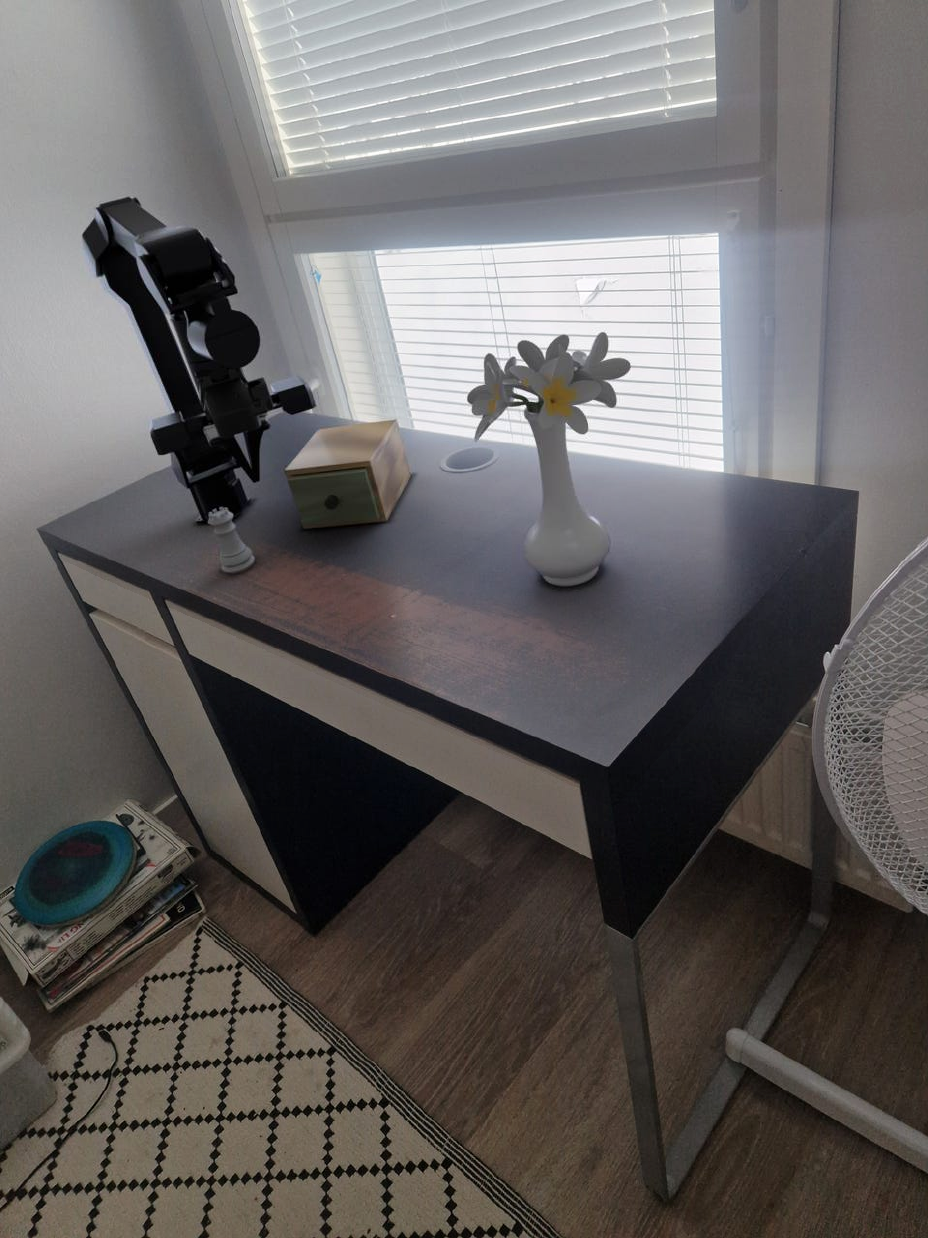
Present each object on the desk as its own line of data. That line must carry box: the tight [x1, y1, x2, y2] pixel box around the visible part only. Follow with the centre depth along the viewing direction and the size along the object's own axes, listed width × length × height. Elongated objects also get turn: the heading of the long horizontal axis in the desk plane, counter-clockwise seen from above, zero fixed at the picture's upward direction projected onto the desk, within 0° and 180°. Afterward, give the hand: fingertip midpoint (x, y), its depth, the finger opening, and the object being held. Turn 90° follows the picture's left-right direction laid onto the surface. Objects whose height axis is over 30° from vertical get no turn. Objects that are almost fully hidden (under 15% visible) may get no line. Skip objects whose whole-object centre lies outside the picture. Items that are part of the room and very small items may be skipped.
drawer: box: [287, 467, 381, 528], centre depth 117 cm, size 14×11×7 cm
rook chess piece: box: [207, 507, 256, 575], centre depth 109 cm, size 4×4×8 cm
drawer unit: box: [284, 419, 412, 530], centre depth 119 cm, size 14×12×9 cm
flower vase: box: [466, 331, 632, 587], centre depth 87 cm, size 13×18×25 cm
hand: (256, 481), depth 103 cm, fingers closed
